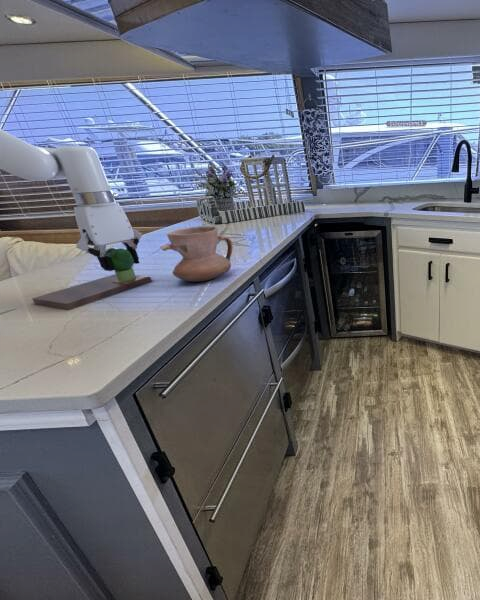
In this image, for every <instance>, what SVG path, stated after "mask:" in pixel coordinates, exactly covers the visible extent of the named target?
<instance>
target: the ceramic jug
mask: <svg viewBox="0 0 480 600" xmlns="http://www.w3.org/2000/svg"><path fill="white" fill-rule="evenodd" d="M166 237H167V239H168V241H169V242H170V244H169V243H166V244H163V245H161V246H160V249H161V250H162V252H166V251H168V250H170V251H173V252H178V253H179V254H180V255H181V257H182V259H180V261H179V262H178V263H176V265H175V266H174V268H173V270H172V275H173V276H174V277H176V278H177V279H179V280H181V281H184V282H190V283H191V282H192V283H193V282H194V283H197V282H205V281H206V282H207V281H211V280H214V279H217V278H219V277H221V276H224V275H225V274H227V273H228V272H229V271H230V270H231V268H232V263H231V256H232V254H233V250H234V245H233V241H232V239H231V238H230V237H229V236H227V235H219V232H218V227H217V226H215V225H198V226H189V227H184V228H183V227H182V228H178V229H174V230H170V231H167V232H166ZM221 241H225V242H226V245H227V251H226V255H225V256H223V255H221V254H219V253H218V252H216V250H217V246H218V245H219V243H220V242H221Z"/></svg>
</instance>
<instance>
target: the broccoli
mask: <svg viewBox="0 0 480 600" xmlns="http://www.w3.org/2000/svg"><path fill="white" fill-rule="evenodd" d="M126 249H127V248H126ZM126 249H125V248H116V247H110V248H108V249H107V248H106V256H109V258H110V260H111V263H112V265H113V268H114V270H113V271H114V273H115V274H116V276H117V278H118V281H119V282H126V281H131V280H134V279H136V273H135V270H134V268H133V266H134V264H135V263H134V258H133V256H132V255H131V253H130V252H129V251H128V250H126Z"/></svg>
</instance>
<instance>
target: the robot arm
mask: <svg viewBox="0 0 480 600" xmlns="http://www.w3.org/2000/svg"><path fill="white" fill-rule="evenodd" d="M0 170H2V171H4V172H6V173H8V174H11V175H13V176H15V177H18V178H20V179H24V180H27V181H33V182H41V181H43V182H45V181H53V180H58V179H64V178H65V180H66V182H67V184H68V187H69V189H70V191H71V194H72V197H73V198H74V201H75V203H76V205H77V206H74V207H73V211H74V216H75V221H76V224H77V228H78V231H79V234H80V236H81V237H80V238H79V239H78V242H77V243H76V246H75V247H76V248H77V249H79V250H82V251H84V252H86V253H88V254H91V255H92V256H94V257H96V258H97V260H98V262H99V265H100V267H101V269H103V270H104V271H105V272H106V271H107V272H112V271H115V270H114V268H113V265H112V263H111V260H110V258H109V256H106V250H107V246H109V245H113V244H117V243H121V244H122V245H123V246H124V247H125V248H126V250H128V251H129V252H130V253H131V255H132V256H133V258H134V264H140V260H139V258H140V257H139V255H138V253H137V248H138V244H139V242H140V240H141V238H142V237H143V233H142V232H140V231H139V230H137V229H136V228H134V227H133V226H132V224H131V223H130V220H129V217H128V216H127V214H126V213H125V210H124V209H123V207H122V206H121V205H120V203H119V202H116V199H118V198H119V194H118V193H117V192H113V190H112V189H111V186H110V184H109V182H108V181H109V180H108V177H107V176H106V173H105V170H104V167H103V165H102V162H101V159H100V157H99V155H98V153H97V151H96V149H94V148H93V147H91V146H87V145H64V146H63V145H61V146H58V147H56V148H55V147H43V146H37V145H33V144H31V143H29V142H27V141H25V140H22V139H21V138H19V137H17V136H15V135H13V134H11V133H9V132H7V131H5V130H3V129H2V128H0ZM91 246H93V247H91Z"/></svg>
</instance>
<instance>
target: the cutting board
mask: <svg viewBox="0 0 480 600" xmlns="http://www.w3.org/2000/svg"><path fill="white" fill-rule="evenodd" d="M135 275H136V274H135ZM151 282H153V280H152V277H151V276H147V275H138V274H137V275H136V279H134V280H131V281H126V282H119V281H118V278H117V276H116V273H115V274H112V275H111V274H110V275H108V276H104V277H100V278H97V279H94V280H89V281H87V282H83V283H80V284H76V285H73V286H70V287H66V288H63V289H60V290H56V291H53V292H48V293H46V294H43V295H38V296H35V297H32V298H31V299H32V302H33V303H34V304H35V305H40V306H45V307H52V308H58V309H64V310H72V309H75V308H78V307H81V306H84V305H87V304H89V303H93V302H95V301H98V300H101V299H104V298H108V297H110V296H113V295H116V294H119V293H123V292H125V291H128V290H131V289H135V288H138V287H140V286H143V285H146V284H149V283H151Z"/></svg>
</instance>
